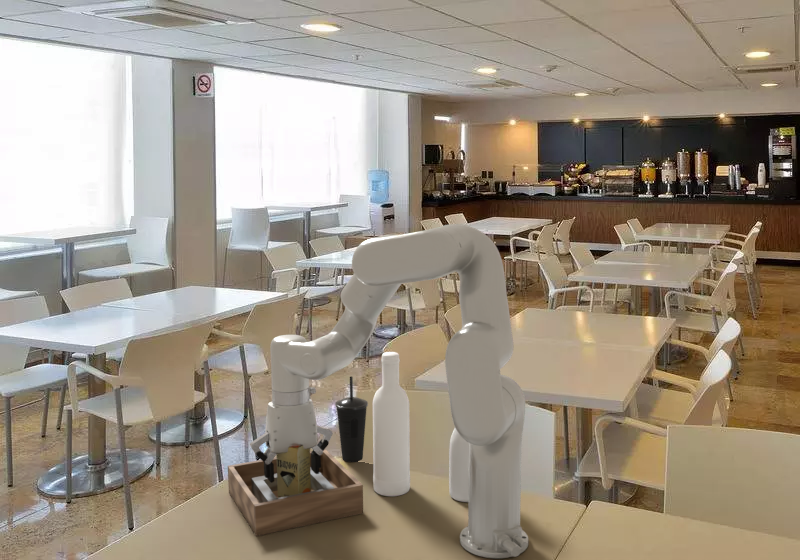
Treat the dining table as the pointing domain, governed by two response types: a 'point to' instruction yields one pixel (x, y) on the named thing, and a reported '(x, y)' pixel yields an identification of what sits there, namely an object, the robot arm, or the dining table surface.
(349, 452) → the drinking cup
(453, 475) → the milk bottle
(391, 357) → the bottle
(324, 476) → the walnut crate
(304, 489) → the shoe polish box
